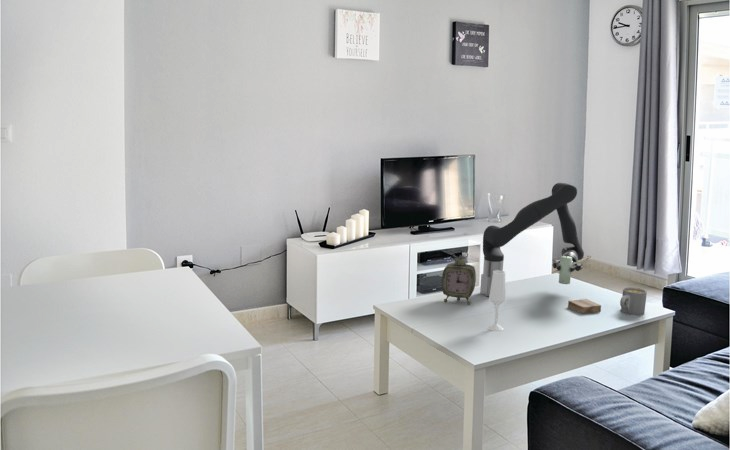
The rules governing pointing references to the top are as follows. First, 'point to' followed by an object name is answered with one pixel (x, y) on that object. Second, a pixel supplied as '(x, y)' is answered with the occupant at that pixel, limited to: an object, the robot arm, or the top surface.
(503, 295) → the champagne flute
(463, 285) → the tabletop clock
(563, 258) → the candle
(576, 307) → the walnut block
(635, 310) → the coffee mug
